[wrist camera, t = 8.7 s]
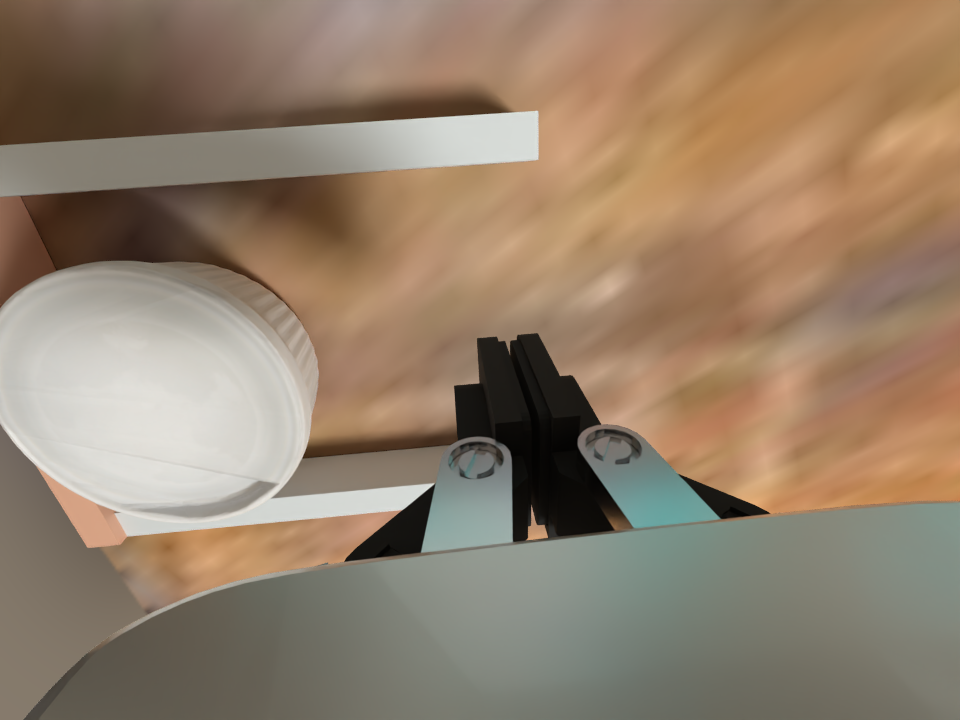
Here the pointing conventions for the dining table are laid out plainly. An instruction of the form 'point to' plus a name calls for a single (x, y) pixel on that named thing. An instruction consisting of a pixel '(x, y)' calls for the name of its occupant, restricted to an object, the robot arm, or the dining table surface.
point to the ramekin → (157, 387)
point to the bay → (242, 157)
